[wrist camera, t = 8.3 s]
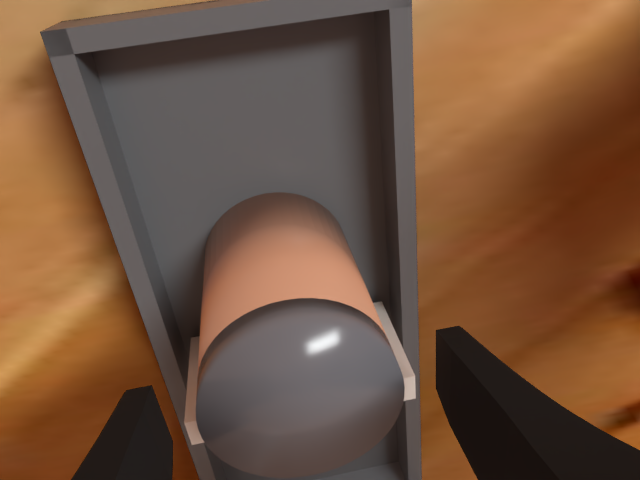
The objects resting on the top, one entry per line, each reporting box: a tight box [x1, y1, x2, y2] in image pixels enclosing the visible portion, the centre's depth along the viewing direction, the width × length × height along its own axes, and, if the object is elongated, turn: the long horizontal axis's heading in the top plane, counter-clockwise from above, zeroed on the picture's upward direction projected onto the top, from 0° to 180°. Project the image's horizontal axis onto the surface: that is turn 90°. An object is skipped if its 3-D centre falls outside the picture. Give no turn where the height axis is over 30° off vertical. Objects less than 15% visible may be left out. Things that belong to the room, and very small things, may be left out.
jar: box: [196, 192, 405, 478], centre depth 16 cm, size 5×5×7 cm
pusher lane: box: [40, 0, 422, 480], centre depth 18 cm, size 9×22×5 cm, turn 6°
